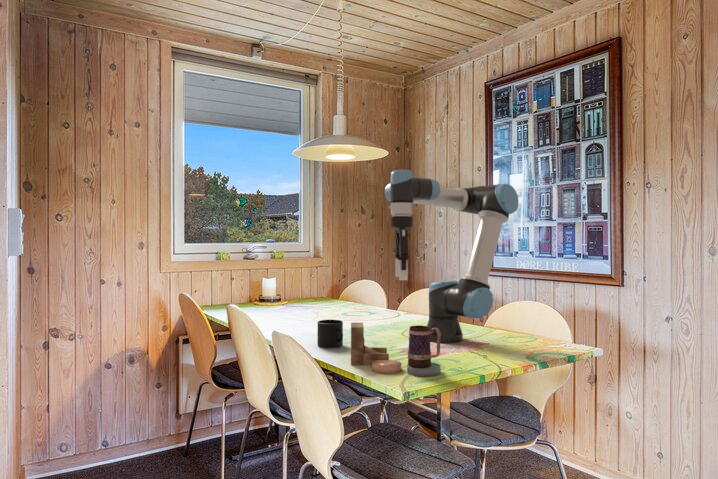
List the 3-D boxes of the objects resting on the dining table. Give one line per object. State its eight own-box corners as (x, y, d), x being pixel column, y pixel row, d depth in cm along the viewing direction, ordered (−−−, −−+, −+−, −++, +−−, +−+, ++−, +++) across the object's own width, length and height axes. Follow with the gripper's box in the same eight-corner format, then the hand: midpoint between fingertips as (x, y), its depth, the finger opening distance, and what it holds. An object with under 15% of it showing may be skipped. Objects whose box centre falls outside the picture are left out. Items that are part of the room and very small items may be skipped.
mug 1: (332, 350, 179) (332, 325, 179) (312, 345, 188) (312, 321, 188) (352, 347, 185) (352, 322, 185) (332, 341, 194) (332, 318, 194)
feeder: (386, 358, 168) (386, 322, 168) (388, 365, 159) (388, 327, 159) (350, 358, 168) (351, 322, 168) (350, 365, 159) (351, 327, 159)
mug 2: (403, 366, 150) (403, 326, 150) (414, 361, 156) (414, 323, 156) (435, 371, 145) (435, 330, 145) (444, 366, 151) (444, 326, 150)
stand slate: (437, 367, 156) (437, 361, 156) (443, 376, 146) (443, 370, 146) (405, 367, 156) (405, 361, 156) (409, 376, 146) (409, 370, 146)
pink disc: (399, 365, 159) (399, 359, 159) (402, 373, 150) (402, 366, 150) (371, 365, 158) (371, 359, 158) (372, 373, 149) (372, 366, 149)
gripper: (387, 217, 182) (387, 275, 182) (393, 214, 157) (393, 281, 157) (408, 217, 182) (408, 275, 182) (417, 214, 157) (417, 281, 158)
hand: (401, 278), depth 170 cm, fingers open, 13 cm apart
